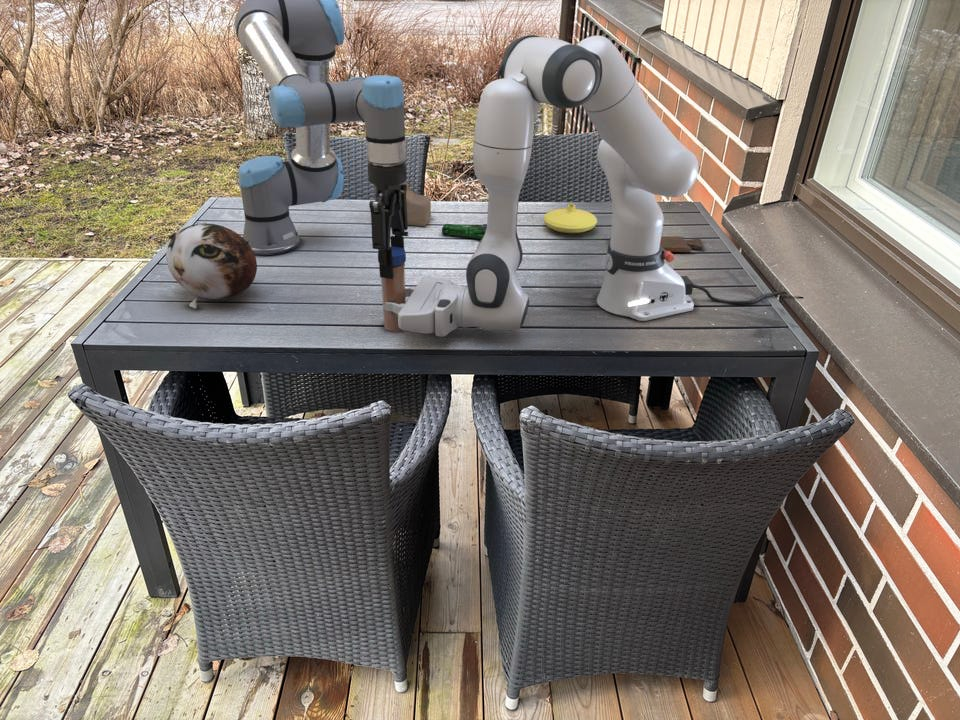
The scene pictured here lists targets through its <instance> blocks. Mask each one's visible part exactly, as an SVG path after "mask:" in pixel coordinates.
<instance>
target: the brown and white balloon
mask: <svg viewBox="0 0 960 720" xmlns="http://www.w3.org/2000/svg"><path fill="white" fill-rule="evenodd" d="M176 233H177V234H176V235H174V237H173V238H172V239H170V241H169V243H168V245H167V248H166V254H165V260H166V265H167V268H168V271H169V273H170V275H171V276H172V277H173V279H174V280H175V281H176V282H177V284H178V285H180V286H181V287H182V288H183V289H185V290H186V291H187V292H189V293H191V294H194V295H195V298H194V299H193V300H192V302H190V303H189V304H188V306H189V307H191V308H192V309H197V308H198V307H197V298H198V297H201V298H205V299H210V300H226V299H230V298H233V297H236V296H238V295H241V294H242V293H244V292H245V291H247V290H248V289H249V288H250V286H251V285H252V284H253V282H254V280H255V278H256V275H257V271H258V262H257V257H256V254H254V252H253V250H252V248H251V247H250V245H249V244H248V242H249V241H246V240H245V239H244V238H243V236H242V235H240V234H239V233H238V232H236V231H234V230H233V229H231V228H229V227H226V226H223V225H220V224H215V223H205V222H204V223H195V224H191V225H188V226H186V227H183V228H182V229H180V230H179V231H177V232H176Z"/></svg>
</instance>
